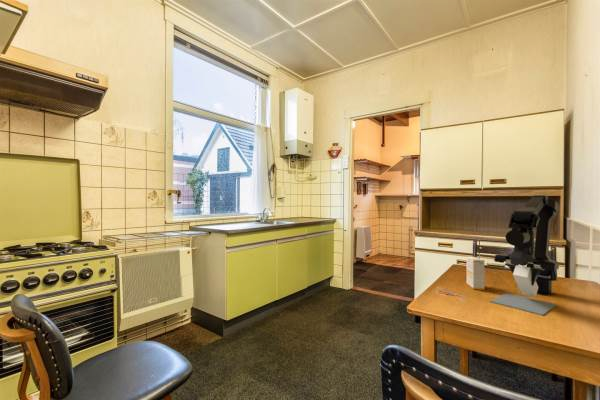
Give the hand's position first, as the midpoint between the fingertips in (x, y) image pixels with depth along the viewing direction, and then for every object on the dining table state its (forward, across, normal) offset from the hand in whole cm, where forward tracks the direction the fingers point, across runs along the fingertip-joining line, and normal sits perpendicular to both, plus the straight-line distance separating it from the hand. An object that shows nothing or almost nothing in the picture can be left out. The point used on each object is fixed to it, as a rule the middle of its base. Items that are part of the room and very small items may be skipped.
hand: (524, 283), depth 109 cm
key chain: (+8, -20, -15) cm, 26 cm away
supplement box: (+7, -20, +5) cm, 22 cm away
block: (+4, 0, +6) cm, 7 cm away
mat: (+7, 0, -2) cm, 7 cm away
